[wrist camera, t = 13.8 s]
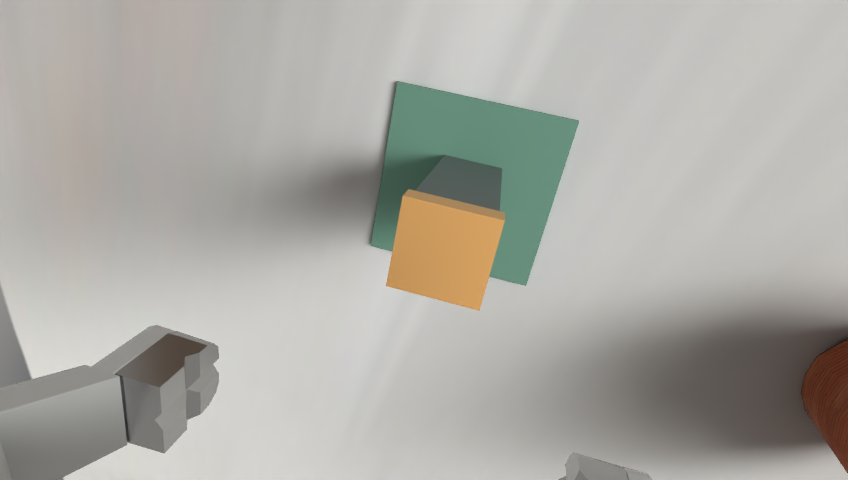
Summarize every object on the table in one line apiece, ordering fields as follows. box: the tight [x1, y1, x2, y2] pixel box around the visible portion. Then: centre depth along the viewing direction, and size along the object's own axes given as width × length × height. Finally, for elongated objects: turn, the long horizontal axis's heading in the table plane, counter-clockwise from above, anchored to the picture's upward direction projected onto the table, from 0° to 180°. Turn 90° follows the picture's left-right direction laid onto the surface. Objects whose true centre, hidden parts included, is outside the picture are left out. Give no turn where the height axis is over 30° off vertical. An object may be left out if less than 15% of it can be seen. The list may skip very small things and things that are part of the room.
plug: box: [386, 155, 505, 310], centre depth 25 cm, size 4×4×12 cm
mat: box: [371, 81, 579, 286], centre depth 30 cm, size 12×12×1 cm
